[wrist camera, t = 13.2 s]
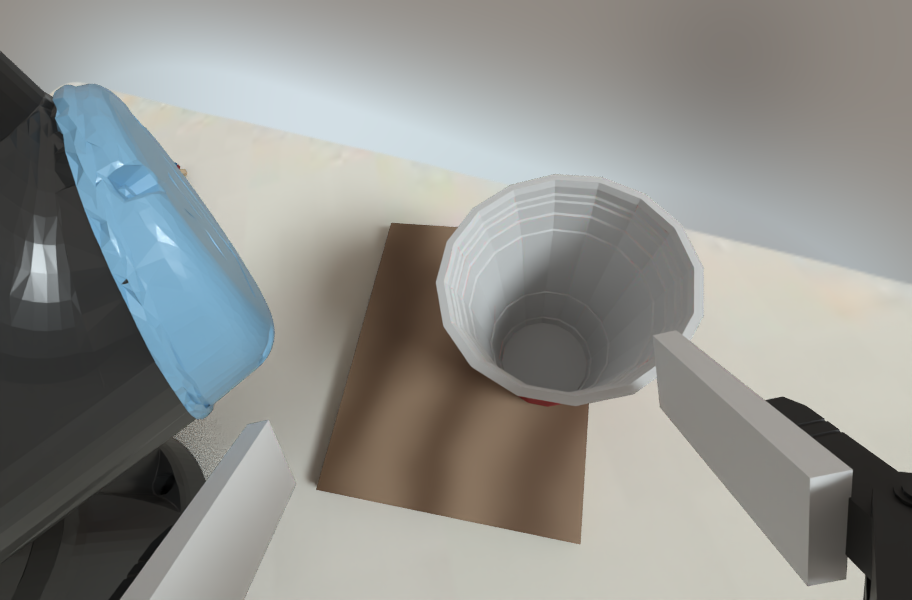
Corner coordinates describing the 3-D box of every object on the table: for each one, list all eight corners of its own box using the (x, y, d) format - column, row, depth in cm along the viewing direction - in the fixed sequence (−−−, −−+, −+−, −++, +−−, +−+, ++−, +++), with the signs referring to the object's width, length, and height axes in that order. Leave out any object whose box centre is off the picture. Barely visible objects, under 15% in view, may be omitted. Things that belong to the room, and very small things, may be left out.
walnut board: (324, 490, 29) (316, 489, 28) (395, 231, 37) (391, 222, 36) (578, 542, 26) (580, 544, 24) (596, 245, 33) (598, 236, 32)
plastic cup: (458, 289, 32) (438, 171, 21) (614, 286, 31) (677, 163, 20) (454, 448, 27) (426, 402, 16) (638, 451, 26) (737, 404, 15)
